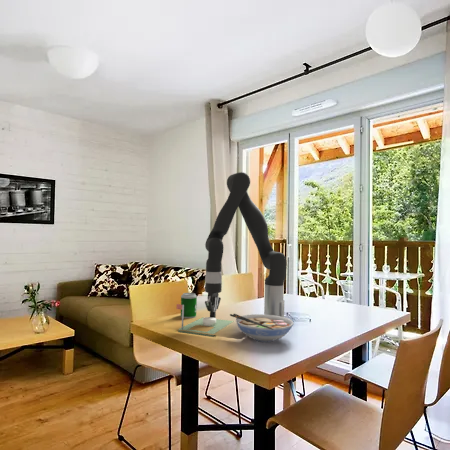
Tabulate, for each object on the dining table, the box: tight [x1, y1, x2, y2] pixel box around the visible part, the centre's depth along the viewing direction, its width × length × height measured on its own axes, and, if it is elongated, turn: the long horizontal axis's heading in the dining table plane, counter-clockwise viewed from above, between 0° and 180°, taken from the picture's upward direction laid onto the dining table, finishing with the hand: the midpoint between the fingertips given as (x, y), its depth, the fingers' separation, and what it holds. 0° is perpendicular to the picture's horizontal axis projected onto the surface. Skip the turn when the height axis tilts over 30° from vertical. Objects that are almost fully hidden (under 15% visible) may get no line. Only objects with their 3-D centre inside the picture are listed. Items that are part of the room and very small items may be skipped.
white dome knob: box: [203, 316, 217, 327], centre depth 154 cm, size 6×6×2 cm
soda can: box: [180, 292, 198, 319], centre depth 169 cm, size 8×8×12 cm
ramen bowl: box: [229, 313, 294, 343], centre depth 138 cm, size 25×23×8 cm
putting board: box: [176, 303, 234, 338], centre depth 153 cm, size 18×24×11 cm
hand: (212, 319), depth 159 cm, fingers closed
